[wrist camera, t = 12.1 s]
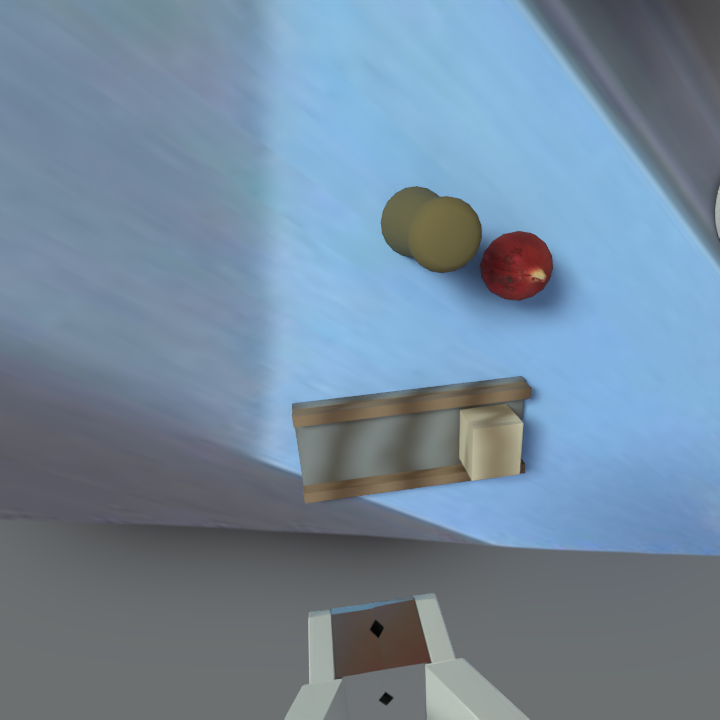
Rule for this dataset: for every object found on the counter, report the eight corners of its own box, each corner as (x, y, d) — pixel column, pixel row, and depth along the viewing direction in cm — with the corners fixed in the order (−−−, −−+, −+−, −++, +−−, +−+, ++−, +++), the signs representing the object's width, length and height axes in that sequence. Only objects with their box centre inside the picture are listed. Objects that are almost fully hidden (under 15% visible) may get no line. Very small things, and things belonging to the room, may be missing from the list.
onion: (472, 295, 44) (506, 320, 37) (465, 235, 42) (500, 249, 35) (530, 281, 44) (576, 302, 37) (526, 220, 42) (574, 230, 35)
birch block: (506, 403, 48) (523, 423, 44) (503, 452, 50) (519, 474, 47) (459, 409, 48) (473, 429, 44) (459, 458, 50) (471, 480, 46)
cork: (425, 171, 40) (467, 171, 29) (459, 230, 42) (509, 249, 32) (367, 214, 40) (390, 227, 30) (404, 269, 43) (436, 300, 32)
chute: (521, 376, 48) (531, 385, 46) (515, 463, 52) (524, 475, 50) (292, 403, 46) (291, 414, 44) (305, 492, 51) (305, 505, 48)
